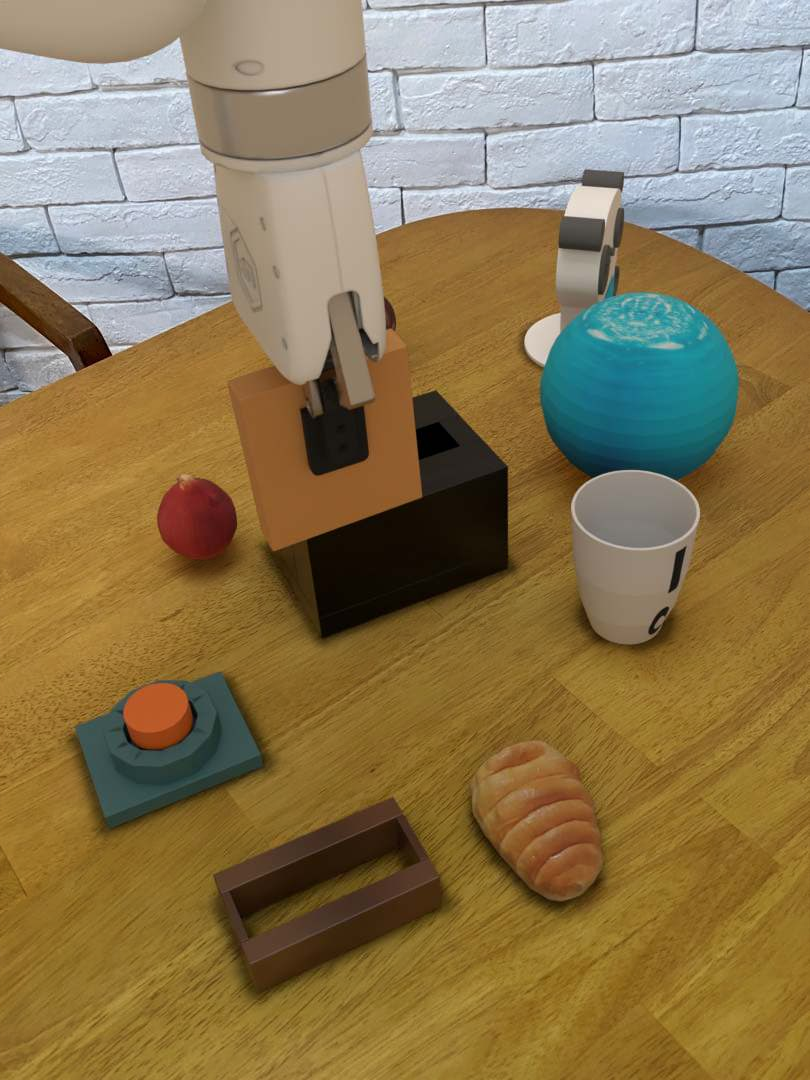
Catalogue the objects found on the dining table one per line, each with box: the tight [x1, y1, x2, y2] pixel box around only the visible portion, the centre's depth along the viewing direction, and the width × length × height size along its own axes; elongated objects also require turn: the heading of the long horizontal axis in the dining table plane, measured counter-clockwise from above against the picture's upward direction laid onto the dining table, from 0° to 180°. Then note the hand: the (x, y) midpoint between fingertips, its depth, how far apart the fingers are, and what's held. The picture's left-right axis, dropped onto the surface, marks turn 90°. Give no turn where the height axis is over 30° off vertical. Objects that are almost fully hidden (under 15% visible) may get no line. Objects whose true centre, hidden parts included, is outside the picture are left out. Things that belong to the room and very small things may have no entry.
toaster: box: [265, 389, 509, 640], centre depth 82 cm, size 15×11×10 cm
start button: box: [123, 683, 193, 750], centre depth 70 cm, size 4×4×2 cm
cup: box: [570, 470, 701, 645], centre depth 76 cm, size 8×8×10 cm
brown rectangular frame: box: [213, 796, 443, 993], centre depth 63 cm, size 11×6×3 cm, turn 116°
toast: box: [226, 329, 422, 551], centre depth 60 cm, size 9×2×10 cm, turn 115°
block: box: [74, 671, 264, 830], centre depth 72 cm, size 10×8×3 cm
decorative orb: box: [539, 291, 740, 482], centre depth 87 cm, size 15×15×15 cm
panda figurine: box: [524, 168, 625, 369], centre depth 101 cm, size 12×11×15 cm
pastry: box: [469, 740, 604, 902], centre depth 65 cm, size 9×7×4 cm
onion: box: [156, 473, 238, 561], centre depth 84 cm, size 6×6×8 cm
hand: (329, 449), depth 60 cm, fingers closed on toast, 2 cm apart
